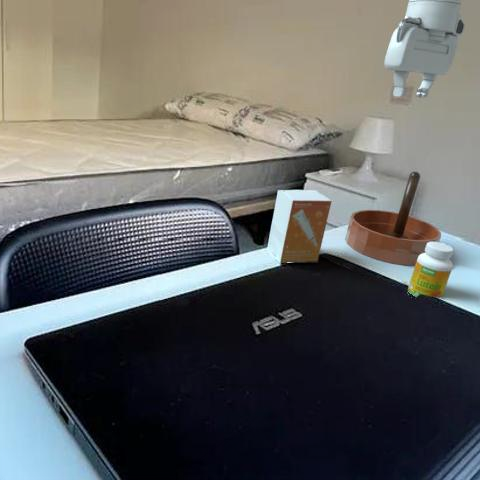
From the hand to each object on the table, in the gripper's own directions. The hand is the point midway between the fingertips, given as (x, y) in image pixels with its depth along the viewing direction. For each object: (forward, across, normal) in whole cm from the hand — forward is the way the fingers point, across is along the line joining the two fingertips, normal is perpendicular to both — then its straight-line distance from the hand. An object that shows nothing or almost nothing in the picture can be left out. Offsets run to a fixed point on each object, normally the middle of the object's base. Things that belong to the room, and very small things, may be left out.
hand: (410, 97), depth 99 cm
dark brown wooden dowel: (+30, +1, -4) cm, 30 cm away
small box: (+32, -24, +4) cm, 40 cm away
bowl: (+31, -2, -4) cm, 31 cm away
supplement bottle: (+32, -16, -19) cm, 40 cm away
